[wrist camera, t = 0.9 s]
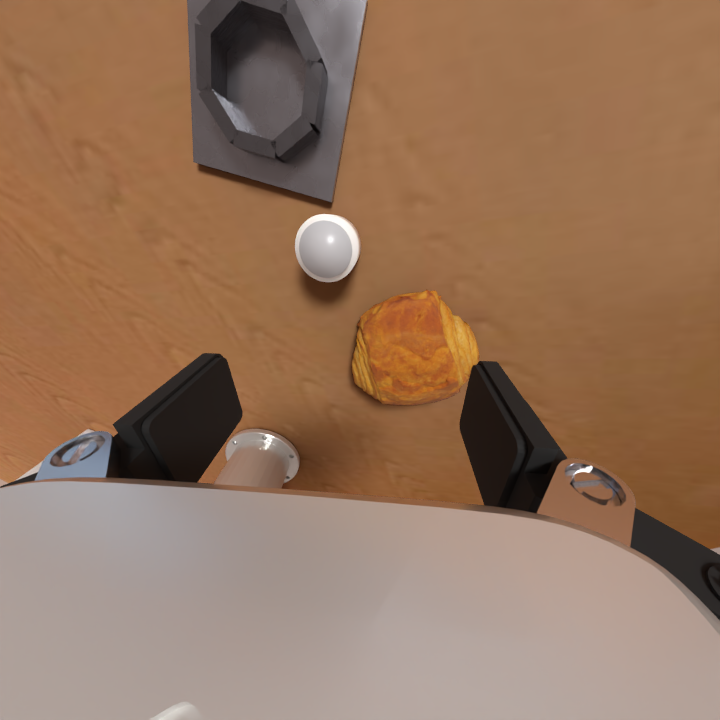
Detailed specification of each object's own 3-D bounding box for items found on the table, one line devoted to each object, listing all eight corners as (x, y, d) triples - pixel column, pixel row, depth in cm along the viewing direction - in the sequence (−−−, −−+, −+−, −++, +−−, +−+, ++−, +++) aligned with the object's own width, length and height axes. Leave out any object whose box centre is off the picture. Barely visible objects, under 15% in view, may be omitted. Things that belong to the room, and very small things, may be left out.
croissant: (463, 374, 39) (491, 409, 32) (358, 395, 39) (362, 434, 32) (463, 273, 32) (498, 289, 25) (336, 299, 32) (335, 322, 25)
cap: (354, 279, 31) (349, 290, 27) (304, 265, 31) (290, 273, 26) (367, 223, 28) (364, 224, 24) (312, 207, 28) (298, 205, 23)
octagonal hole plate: (332, 202, 28) (326, 200, 25) (198, 163, 27) (176, 156, 24) (367, 4, 21) (365, -30, 18) (191, -55, 20) (160, -100, 18)
